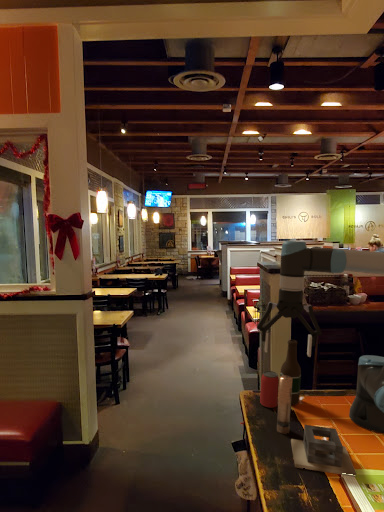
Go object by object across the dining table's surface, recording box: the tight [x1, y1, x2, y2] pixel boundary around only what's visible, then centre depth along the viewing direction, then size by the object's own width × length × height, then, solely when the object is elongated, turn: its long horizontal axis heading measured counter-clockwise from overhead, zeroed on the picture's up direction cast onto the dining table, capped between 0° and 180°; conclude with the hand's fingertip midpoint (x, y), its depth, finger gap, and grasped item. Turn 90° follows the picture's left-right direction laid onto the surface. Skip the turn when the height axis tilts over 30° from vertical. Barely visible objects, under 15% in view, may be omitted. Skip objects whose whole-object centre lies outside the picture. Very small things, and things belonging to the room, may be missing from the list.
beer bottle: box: [279, 339, 302, 406], centre depth 135 cm, size 8×8×24 cm
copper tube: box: [276, 375, 292, 435], centre depth 115 cm, size 4×4×18 cm
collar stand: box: [290, 424, 357, 476], centre depth 101 cm, size 16×12×7 cm
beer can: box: [259, 370, 280, 409], centre depth 132 cm, size 7×7×12 cm
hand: (287, 353), depth 113 cm, fingers open, 13 cm apart
